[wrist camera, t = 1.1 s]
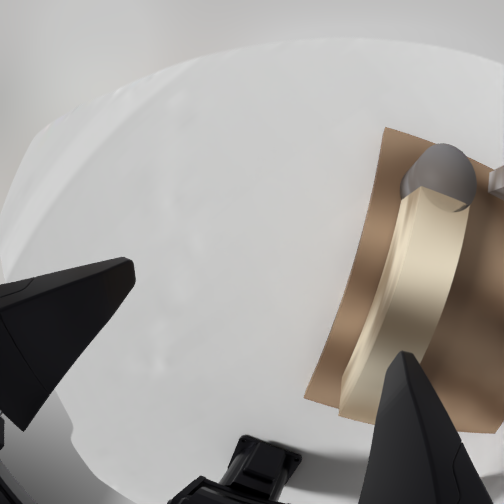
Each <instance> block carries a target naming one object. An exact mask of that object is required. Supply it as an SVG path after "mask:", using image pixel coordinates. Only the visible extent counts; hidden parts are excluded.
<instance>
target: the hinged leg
mask: <svg viewBox="0 0 504 504" xmlns="http://www.w3.org/2000/svg"><path fill="white" fill-rule="evenodd" d="M476 190H477V179H476V174H475V171H474V168H473V166H472V164H471V162H470V161H469V159H468V158H467V156H466V155H465V154H464V153H463V152H462V151H460V150H459V149H458V148H456V147H454V146H452V145H449V144H435V145H433V146H431V147H429V148H428V149H427V150H426V151H425V152H424V153H423V154H422V155H421V156H420V158H419V159H418V160H417V161H416V162H415V163H414V164H413V166H412V167H411V168H410V169H409V170H408V171H407V172H406V173H405V175H404V176H403V178H402V180H401V183H400V197H401V204H400V209H399V213H398V218H397V222H396V226H395V230H394V234H393V238H392V241H391V245H390V249H389V252H388V256H387V259H386V263H385V266H384V269H383V273H382V276H381V279H380V282H379V285H378V288H377V291H376V294H375V297H374V300H373V303H372V306H371V308H370V311H369V314H368V316H367V319H366V322H365V324H364V327H363V330H362V332H361V335H360V337H359V339H358V342H357V344H356V347H355V349H354V351H353V354H352V356H351V358H350V361H349V363H348V365H347V367H346V369H345V372H344V374H343V376H342V383H341V395H340V406H339V415H338V416H341V417H344V418H348V419H352V420H356V421H360V422H364V423H368V424H373V425H375V421H376V415H377V411H378V407H379V402H380V398H381V393H382V389H383V384H384V379H385V374H386V371H387V369H388V367H389V365H390V364H391V363H392V361H393V360H394V358H395V357H396V355H397V354H398V353H399V352H400V351H402V350H403V351H407V352H411V353H413V354H414V356H415V357H416V359H417V360H418V362H419V364H420V363H421V360H422V358H423V356H424V354H425V352H426V350H427V348H428V345H429V343H430V341H431V338H432V336H433V334H434V331H435V329H436V326H437V324H438V321H439V319H440V316H441V314H442V311H443V308H444V305H445V302H446V300H447V297H448V294H449V291H450V287H451V284H452V281H453V278H454V274H455V271H456V267H457V264H458V260H459V256H460V252H461V248H462V243H463V239H464V234H465V230H466V224H467V219H468V213H469V207H470V204H471V203H472V201H473V200H474V197H475V194H476Z"/></svg>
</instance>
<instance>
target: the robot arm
mask: <svg viewBox="0 0 504 504" xmlns="http://www.w3.org/2000/svg"><path fill="white" fill-rule="evenodd" d="M135 282H136V278H135V270H134V263H133V261H132V260H130V259H128V258H125V257H119V258H115V259H110V260H106V261H101V262H97V263H93V264H88V265H84V266H79V267H75V268H71V269H67V270H62V271H58V272H54V273H50V274H45V275H41V276H37V277H33V278H29V279H25V280H20V281H16V282H11V283H6V284H1V285H0V450H1V449H2V448H3V446H4V419H3V418H2V416H1V415H2V413H4V414H5V415H6V416H7V417H8V418H9V419H10V420H11V421H12V422H13V423H14V424H15V425H16V426H17V427H19V429H21V430H22V431H23V432H24V431H25V430H26V428H27V427H28V425H29V424H30V423H31V421H32V420H33V418H34V417H35V415H36V414H37V412H38V411H39V409H40V408H41V407H42V405H43V404H44V403H45V401H46V400H47V398H48V397H49V394H51V393H52V391H53V390H54V389H55V387H56V386H57V385H58V383H59V382H60V381H61V379H62V378H63V377H64V375H65V374H66V373H67V371H68V370H69V369H70V368H71V366H72V365H73V364H74V362H75V361H76V360H77V359H78V357H79V356H80V355H81V354H82V352H83V351H84V350H85V349H86V347H87V346H88V345H89V344H90V343H91V341H92V340H93V339H94V338H95V336H96V335H97V334H98V333H99V332H100V330H101V329H102V328H103V327H104V326H105V325H106V323H107V322H108V321H109V320H110V319H111V317H112V316H113V315H114V313H115V312H116V311H117V309H118V308H119V306H120V305H121V303H122V302H123V301H124V299H125V298H126V296H127V295H128V294H129V292H130V291H131V289H132V288H133V287H134V285H135ZM243 439H244V440H243ZM245 440H246V441H245ZM296 458H297V459H296ZM301 460H302V456H301V455H299V454H295V453H292V452H289V451H286V450H283V449H280V448H277V447H274V446H271V445H269V444H266V443H263V442H261V441H258V440H255V439H253V438H250V437H248V436H245V435H243V436H241V437H240V439H239V441H238V444H237V446H236V449H235V451H234V454H233V456H232V458H231V461H230V463H229V466H228V470H227V472H226V473H225V475H224V476H223V478H222V479H221V481H220V482H219V483H216V482H213V481H211V480H208V479H206V477H203V476H199V477H198V478H197V479H196V480H194V481H192V482H191V483H190V484H189V485H188V486H187V487H185V488H184V489H183V490H182V491H181V492H179V493H178V494H177V495H176V496H175V497H173V499H171V500H169V501H168V503H167V504H285V503H281V502H278V500H279V497H280V495H281V492H282V490H283V487H284V485H285V484H286V483H287V481H288V480H289V478H290V477H291V476H292V474H293V473H294V471H295V470H296V468H297V467H298V465H299V464H300V463H301ZM0 504H37V503H36V502H35V501H34V500H33V499H32V497H31V496H30V495H29V494H28V493H27V492H26V491H25V490H24V489H23V488H22V486H21V485H20V484H19V483H18V482H17V480H15V478H14V477H13V476H12V474H11V473H10V472H9V470H8V469H7V468H6V467H5V465H4V464H3V463H2V461H1V460H0ZM288 504H289V503H288ZM358 504H493V502H492V500H491V498H490V496H489V494H488V492H487V490H486V488H485V486H484V484H483V483H482V481H481V479H480V477H479V475H478V473H477V471H476V469H475V467H474V465H473V463H472V461H471V459H470V457H469V455H468V453H467V451H466V449H465V447H464V444H463V443H461V438H460V436H459V434H458V432H457V430H456V428H455V426H454V424H453V422H452V420H451V419H450V417H449V415H448V413H447V411H446V409H445V407H444V405H443V404H442V402H441V400H440V398H439V396H438V395H437V393H436V391H435V389H434V387H433V386H432V384H431V382H430V381H429V379H428V377H427V375H426V374H425V372H424V370H423V369H422V367H421V365H420V364H419V362H418V360H417V359H416V357H415V356H414V354H413V353H411V352H407V351H403V350H402V351H400V352H399V353H398V354H397V355H396V357H395V358H394V360H393V361H392V363H391V364H390V365H389V367H388V369H387V371H386V374H385V379H384V384H383V389H382V393H381V398H380V402H379V407H378V411H377V415H376V421H375V427H374V433H373V440H372V445H371V451H370V456H369V461H368V466H367V471H366V475H365V479H364V483H363V487H362V491H361V495H360V499H359V502H358Z"/></svg>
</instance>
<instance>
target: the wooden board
mask: <svg viewBox="0 0 504 504" xmlns="http://www.w3.org/2000/svg"><path fill="white" fill-rule="evenodd" d="M433 145H435V143H432V142H429V141H427V140H424V139H421V138H418V137H415V136H412V135H409V134H406V133H403V132H400V131H397V130H394V129H390V128H387V127H385V130H384V133H383V137H382V143H381V149H380V155H379V160H378V165H377V171H376V176H375V180H374V185H373V190H372V194H371V199H370V203H369V207H368V211H367V215H366V219H365V223H364V227H363V231H362V235H361V238H360V242H359V246H358V249H357V253H356V256H355V259H354V263H353V266H352V269H351V273H350V276H349V279H348V282H347V285H346V288H345V291H344V294H343V297H342V300H341V303H340V306H339V309H338V312H337V315H336V317H335V320H334V323H333V325H332V328H331V331H330V333H329V336H328V339H327V341H326V344H325V346H324V349H323V351H322V354H321V356H320V359H319V361H318V364H317V366H316V368H315V371H314V373H313V375H312V378H311V380H310V382H309V384H308V387H307V389H306V392H305V395H304V398H305V399H308V400H311V401H314V402H318V403H321V404H324V405H327V406H331V407H334V408H338V409H339V406H340V395H341V383H342V376H343V374H344V372H345V369H346V367H347V365H348V363H349V361H350V358H351V356H352V354H353V351H354V349H355V347H356V344H357V342H358V339H359V337H360V335H361V332H362V330H363V327H364V324H365V322H366V319H367V316H368V314H369V311H370V308H371V306H372V303H373V300H374V297H375V294H376V291H377V288H378V285H379V282H380V279H381V276H382V273H383V269H384V266H385V263H386V259H387V256H388V252H389V249H390V245H391V241H392V238H393V234H394V230H395V226H396V222H397V218H398V213H399V209H400V204H401V197H400V183H401V180H402V178H403V176H404V175H405V173H406V172H407V171H408V170H409V169H410V168H411V167H412V166H413V164H414V163H415V162H416V161H417V160H418V159H419V158H420V156H421V155H422V154H423V153H424V152H425V151H426V150H427V149H428V148H429V147H431V146H433ZM467 158H468V157H467ZM468 159H469V161H470V162H471V164H472V166H473V168H474V171H475V174H476V179H477V190H476V194H475V197H474V200H473V201H472V203H471V204H470V207H469V213H468V219H467V224H466V230H465V234H464V239H463V243H462V248H461V252H460V256H459V260H458V264H457V267H456V271H455V274H454V278H453V281H452V284H451V287H450V291H449V294H448V297H447V300H446V302H445V305H444V308H443V311H442V314H441V316H440V319H439V321H438V324H437V326H436V329H435V331H434V334H433V336H432V338H431V341H430V343H429V345H428V348H427V350H426V352H425V354H424V356H423V358H422V360H421V363H420V365H421V367H422V369H423V370H424V372H425V374H426V375H427V377H428V379H429V381H430V382H431V384H432V386H433V387H434V389H435V391H436V393H437V395H438V396H439V398H440V400H441V402H442V404H443V405H444V407H445V409H446V411H447V413H448V415H449V417H450V419H451V420H452V422H453V424H454V426H455V428H456V430H457V431H459V432H471V433H494V434H495V433H496V431H497V430H498V428H499V427H500V425H501V424H502V422H503V421H504V166H502V167H500V168H498V169H496V170H493V169H491V168H489V167H487V166H485V165H483V164H481V163H479V162H477V161H475V160H473V159H471V158H468Z"/></svg>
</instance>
